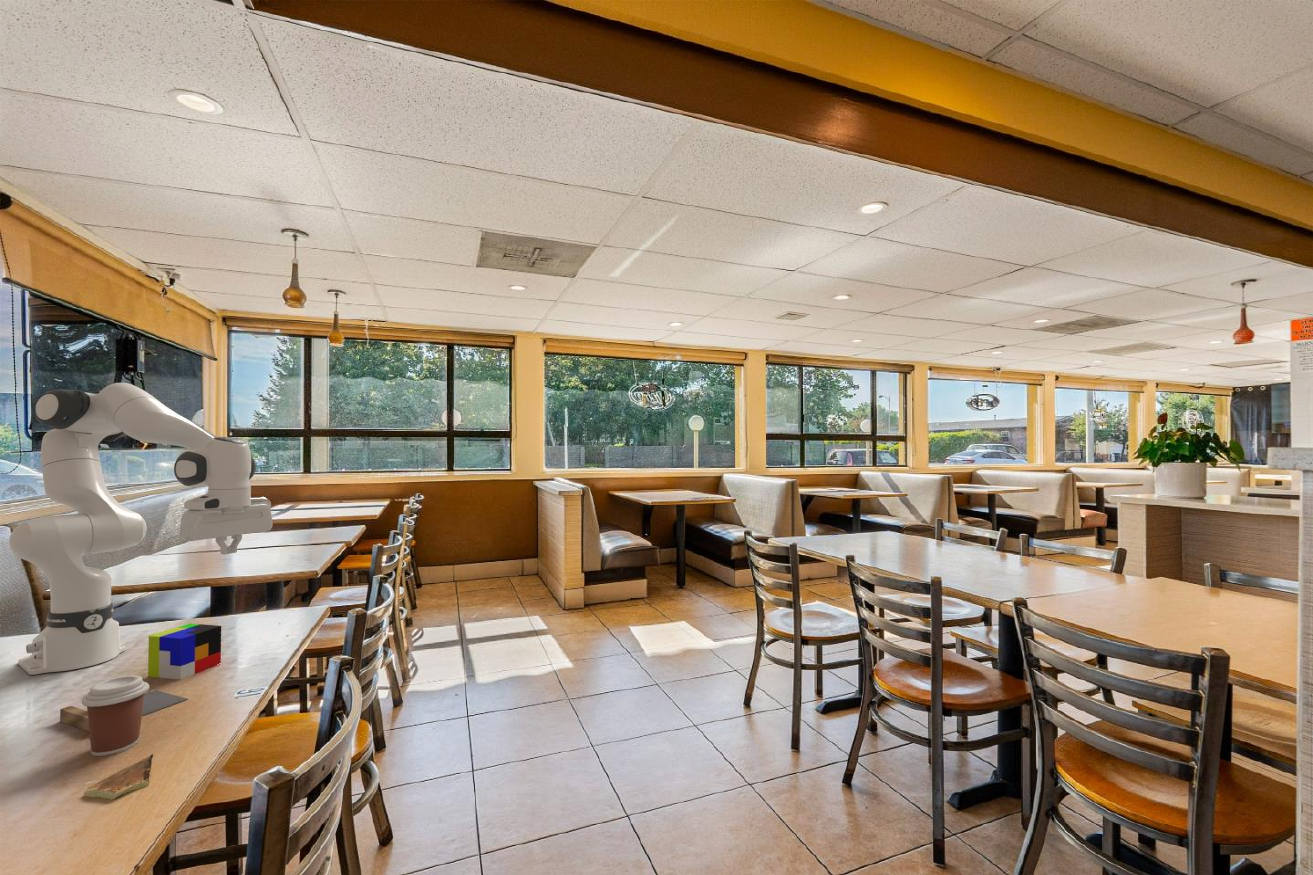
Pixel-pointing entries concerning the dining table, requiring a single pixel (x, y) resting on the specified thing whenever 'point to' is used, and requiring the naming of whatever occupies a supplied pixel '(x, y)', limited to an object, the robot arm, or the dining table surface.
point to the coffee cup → (115, 713)
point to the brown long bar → (75, 717)
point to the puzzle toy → (184, 651)
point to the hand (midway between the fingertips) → (228, 553)
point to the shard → (123, 781)
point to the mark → (159, 701)
